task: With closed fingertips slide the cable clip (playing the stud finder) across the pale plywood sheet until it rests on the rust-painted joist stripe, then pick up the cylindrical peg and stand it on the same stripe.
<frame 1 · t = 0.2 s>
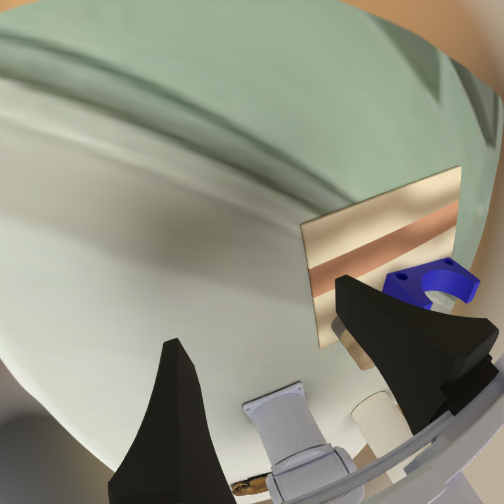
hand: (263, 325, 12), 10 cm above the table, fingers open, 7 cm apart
plywood sheet: (397, 257, 28), on the table
bottle: (368, 403, 47), on the table
decorative rock: (257, 478, 55), on the table
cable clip: (415, 279, 31), resting on plywood sheet
cylindrical peg: (343, 321, 29), resting on plywood sheet
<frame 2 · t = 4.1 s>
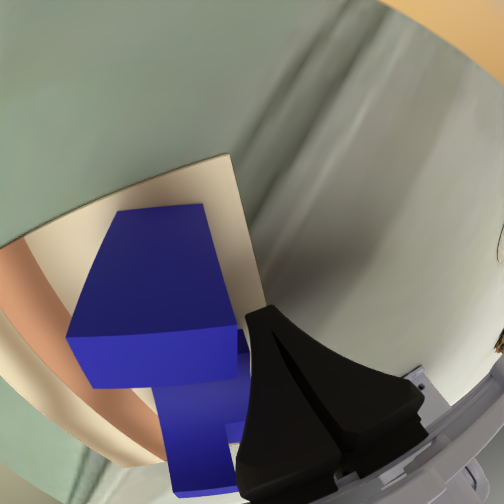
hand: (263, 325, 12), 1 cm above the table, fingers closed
plywood sheet: (142, 391, 14), on the table
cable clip: (193, 331, 13), resting on plywood sheet, touching gripper
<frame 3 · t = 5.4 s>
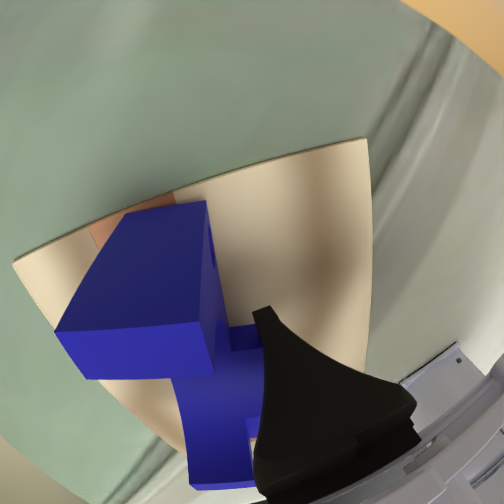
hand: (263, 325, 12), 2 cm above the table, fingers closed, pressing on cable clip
plywood sheet: (246, 364, 16), on the table
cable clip: (212, 326, 13), resting on plywood sheet, touching gripper
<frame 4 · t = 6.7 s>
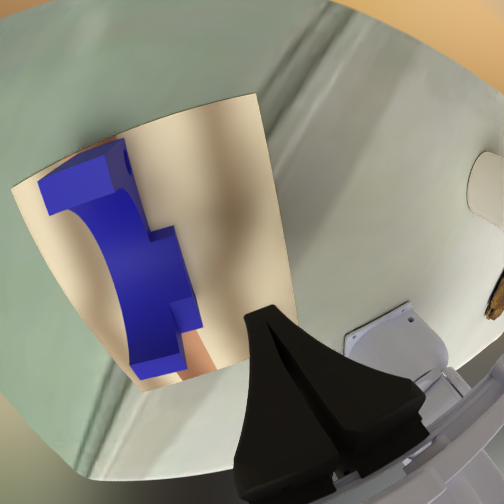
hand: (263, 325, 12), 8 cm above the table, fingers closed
plywood sheet: (176, 280, 20), on the table
bottle: (480, 181, 26), on the table
decorative rock: (499, 286, 44), on the table
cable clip: (139, 233, 17), resting on plywood sheet
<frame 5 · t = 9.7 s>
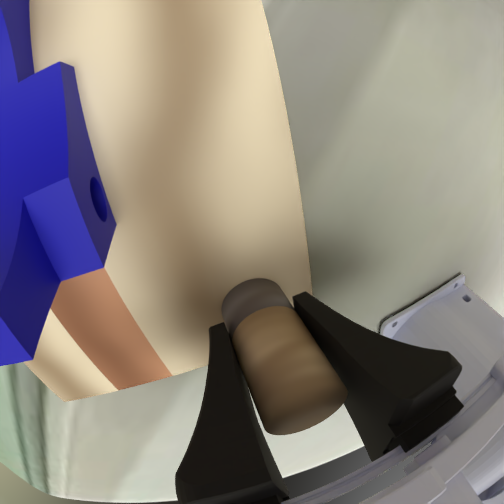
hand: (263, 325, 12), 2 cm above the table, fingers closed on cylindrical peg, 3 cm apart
plywood sheet: (78, 190, 9), on the table
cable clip: (22, 93, 6), resting on plywood sheet
cylindrical peg: (253, 305, 13), resting on plywood sheet, touching gripper
when the fingers open (2 cm above the table, at t = 13.1 s): cylindrical peg stays where it is, resting on plywood sheet.
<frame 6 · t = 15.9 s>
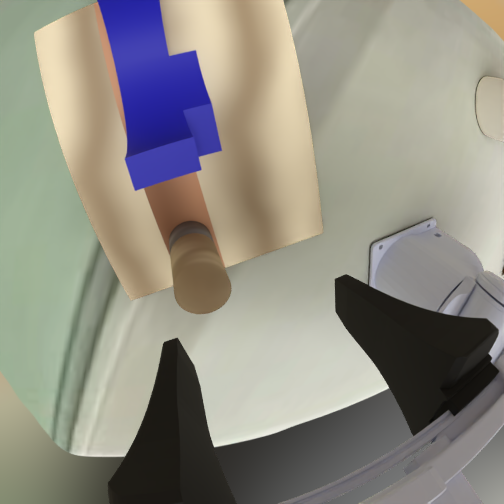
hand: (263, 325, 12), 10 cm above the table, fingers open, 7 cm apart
plywood sheet: (187, 127, 16), on the table
bottle: (487, 106, 23), on the table
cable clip: (156, 64, 14), resting on plywood sheet
cylindrical peg: (190, 240, 20), resting on plywood sheet
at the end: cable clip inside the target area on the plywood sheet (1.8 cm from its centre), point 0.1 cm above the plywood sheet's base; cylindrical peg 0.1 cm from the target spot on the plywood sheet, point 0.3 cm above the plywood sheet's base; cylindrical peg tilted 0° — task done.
